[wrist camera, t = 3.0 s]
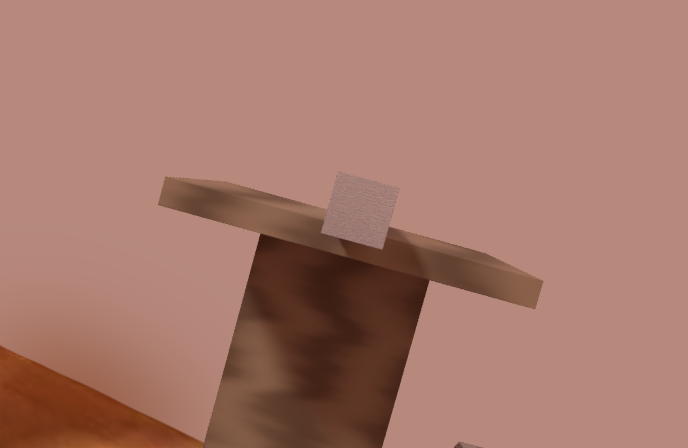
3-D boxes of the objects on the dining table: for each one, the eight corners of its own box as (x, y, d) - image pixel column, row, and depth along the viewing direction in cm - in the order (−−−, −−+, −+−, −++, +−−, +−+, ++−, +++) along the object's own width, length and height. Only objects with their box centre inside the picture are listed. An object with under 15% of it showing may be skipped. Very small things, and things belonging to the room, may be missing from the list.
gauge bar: (320, 232, 24) (337, 171, 24) (339, 213, 46) (348, 181, 46) (382, 249, 24) (399, 188, 24) (371, 222, 46) (380, 190, 46)
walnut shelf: (43, 647, 34) (165, 176, 33) (139, 508, 49) (226, 181, 48) (404, 750, 34) (543, 281, 32) (391, 579, 49) (485, 253, 47)
